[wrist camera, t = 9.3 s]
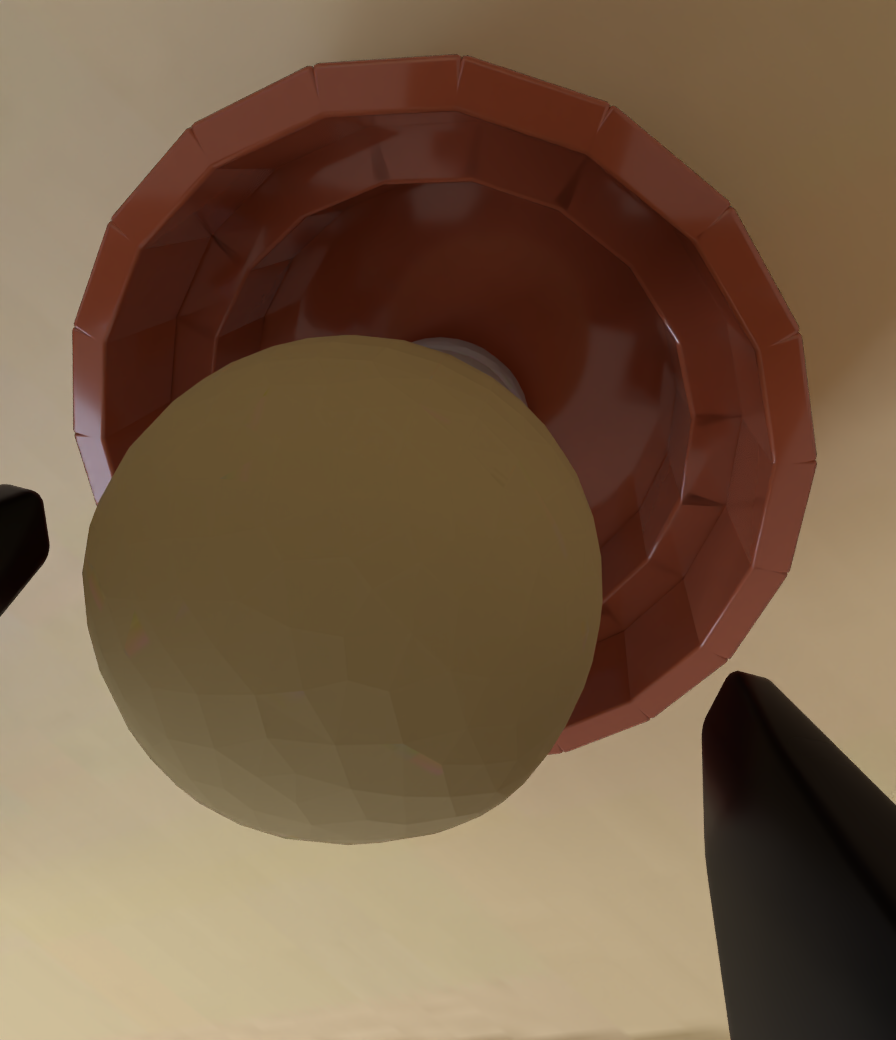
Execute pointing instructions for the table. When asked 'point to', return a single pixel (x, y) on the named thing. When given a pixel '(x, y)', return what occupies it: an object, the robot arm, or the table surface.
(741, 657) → the table surface
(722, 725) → the robot arm
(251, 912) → the table surface
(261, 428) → the light bulb
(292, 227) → the bowl
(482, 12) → the table surface
